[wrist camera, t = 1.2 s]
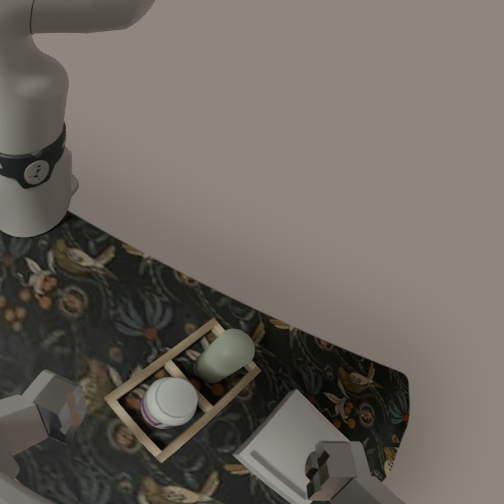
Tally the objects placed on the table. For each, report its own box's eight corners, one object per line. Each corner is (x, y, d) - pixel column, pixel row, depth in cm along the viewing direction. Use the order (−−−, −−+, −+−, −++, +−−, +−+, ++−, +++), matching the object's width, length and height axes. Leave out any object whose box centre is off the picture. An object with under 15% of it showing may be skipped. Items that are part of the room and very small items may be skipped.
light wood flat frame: (104, 398, 30) (104, 397, 29) (210, 321, 43) (213, 317, 42) (160, 462, 28) (161, 462, 27) (257, 372, 41) (261, 370, 40)
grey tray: (232, 454, 32) (239, 454, 31) (288, 392, 41) (296, 388, 40) (296, 507, 30) (306, 509, 28) (341, 444, 39) (351, 442, 37)
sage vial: (187, 364, 37) (209, 343, 31) (210, 346, 40) (236, 321, 34) (210, 389, 37) (237, 374, 30) (231, 370, 40) (261, 350, 33)
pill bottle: (183, 392, 35) (207, 375, 28) (181, 431, 32) (204, 427, 25) (142, 384, 33) (153, 365, 26) (137, 424, 30) (147, 418, 23)
